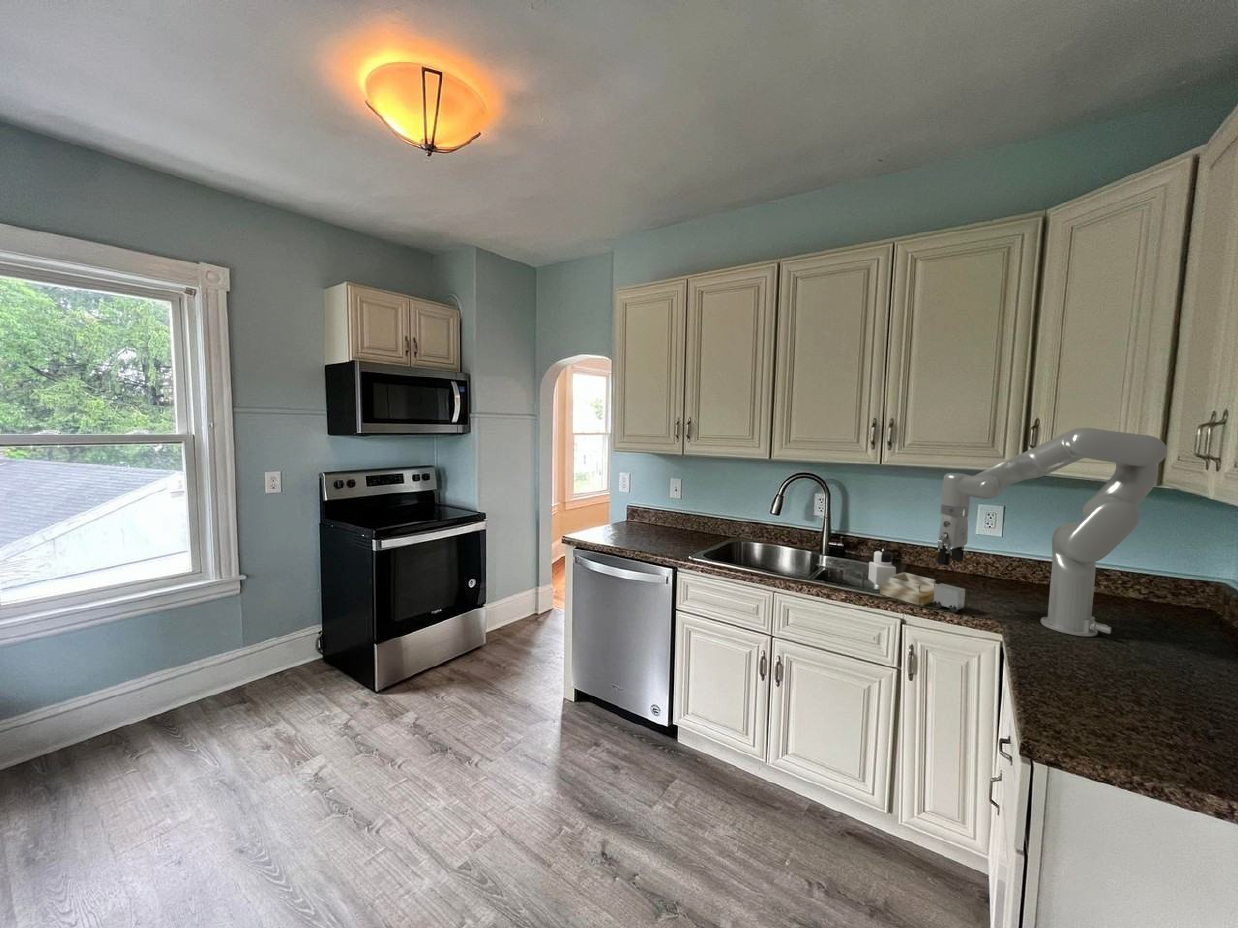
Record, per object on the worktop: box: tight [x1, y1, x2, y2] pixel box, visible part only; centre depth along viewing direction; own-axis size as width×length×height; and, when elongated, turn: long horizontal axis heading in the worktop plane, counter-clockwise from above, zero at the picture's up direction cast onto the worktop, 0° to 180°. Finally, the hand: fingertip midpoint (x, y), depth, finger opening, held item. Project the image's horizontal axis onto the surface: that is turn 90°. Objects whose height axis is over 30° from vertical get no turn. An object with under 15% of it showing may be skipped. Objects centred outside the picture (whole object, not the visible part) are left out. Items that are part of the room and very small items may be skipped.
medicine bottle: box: [868, 550, 897, 586], centre depth 190 cm, size 7×7×12 cm
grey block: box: [933, 582, 966, 613], centre depth 163 cm, size 7×5×7 cm
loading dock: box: [879, 571, 939, 607], centre depth 176 cm, size 14×20×6 cm
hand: (950, 562), depth 162 cm, fingers open, 9 cm apart
